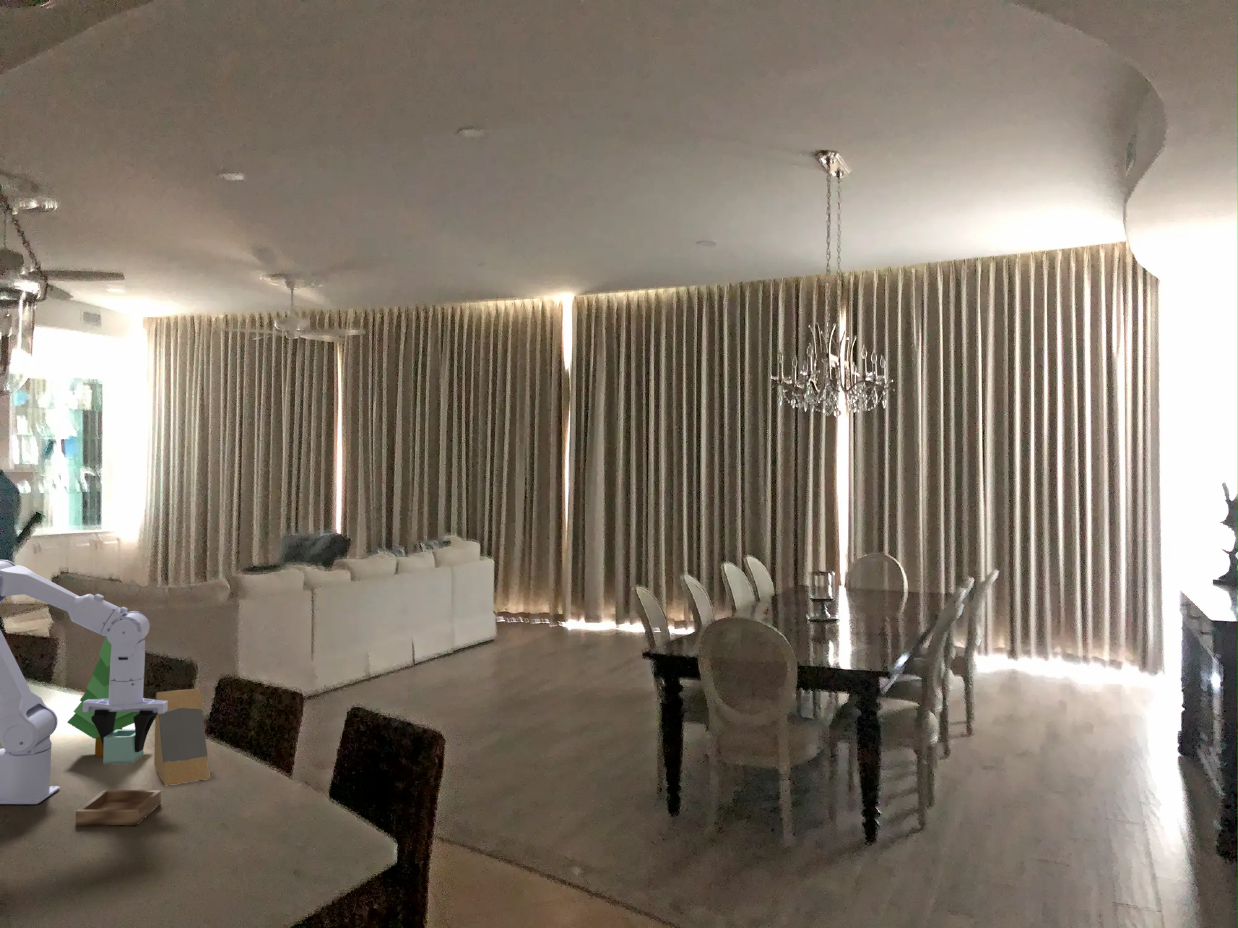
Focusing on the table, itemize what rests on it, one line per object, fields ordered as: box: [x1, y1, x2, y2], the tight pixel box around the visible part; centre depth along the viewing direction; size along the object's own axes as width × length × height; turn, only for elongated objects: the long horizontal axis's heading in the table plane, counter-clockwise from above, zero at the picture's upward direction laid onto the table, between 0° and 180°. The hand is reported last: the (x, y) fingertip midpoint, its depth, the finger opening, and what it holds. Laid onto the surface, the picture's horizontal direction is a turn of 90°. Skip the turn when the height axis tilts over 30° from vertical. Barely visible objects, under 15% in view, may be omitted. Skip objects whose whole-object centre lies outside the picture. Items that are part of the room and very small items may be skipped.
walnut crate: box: [75, 789, 162, 827], centre depth 159 cm, size 10×10×2 cm
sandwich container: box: [153, 688, 212, 786], centre depth 182 cm, size 9×15×15 cm, turn 35°
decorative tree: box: [66, 636, 139, 758], centre depth 191 cm, size 14×16×30 cm
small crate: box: [102, 728, 144, 765], centre depth 169 cm, size 5×5×5 cm
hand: (123, 750), depth 169 cm, fingers closed on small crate, 5 cm apart
